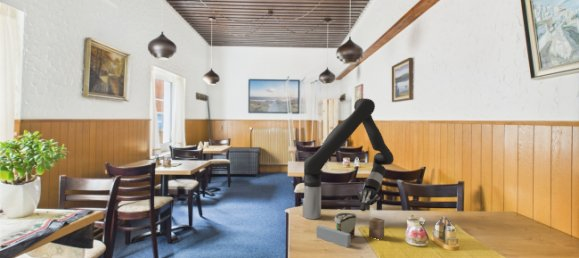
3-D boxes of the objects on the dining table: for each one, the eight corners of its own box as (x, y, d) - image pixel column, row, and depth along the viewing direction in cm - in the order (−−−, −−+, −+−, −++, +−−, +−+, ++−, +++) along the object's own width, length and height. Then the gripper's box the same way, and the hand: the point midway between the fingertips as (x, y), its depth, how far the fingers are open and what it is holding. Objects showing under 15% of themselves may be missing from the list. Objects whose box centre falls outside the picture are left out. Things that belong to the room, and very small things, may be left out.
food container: (345, 231, 142) (345, 210, 141) (356, 235, 137) (356, 213, 137) (328, 238, 133) (328, 216, 133) (339, 242, 129) (339, 219, 129)
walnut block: (368, 237, 135) (369, 219, 134) (374, 234, 138) (374, 217, 138) (379, 240, 131) (379, 222, 131) (384, 237, 135) (384, 219, 135)
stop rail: (316, 237, 134) (316, 226, 134) (319, 235, 136) (319, 225, 136) (347, 247, 124) (347, 235, 123) (350, 245, 125) (350, 234, 125)
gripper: (360, 176, 160) (348, 203, 151) (383, 179, 151) (372, 208, 143) (364, 184, 164) (353, 211, 156) (387, 188, 155) (376, 217, 147)
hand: (362, 210), depth 149 cm, fingers closed
